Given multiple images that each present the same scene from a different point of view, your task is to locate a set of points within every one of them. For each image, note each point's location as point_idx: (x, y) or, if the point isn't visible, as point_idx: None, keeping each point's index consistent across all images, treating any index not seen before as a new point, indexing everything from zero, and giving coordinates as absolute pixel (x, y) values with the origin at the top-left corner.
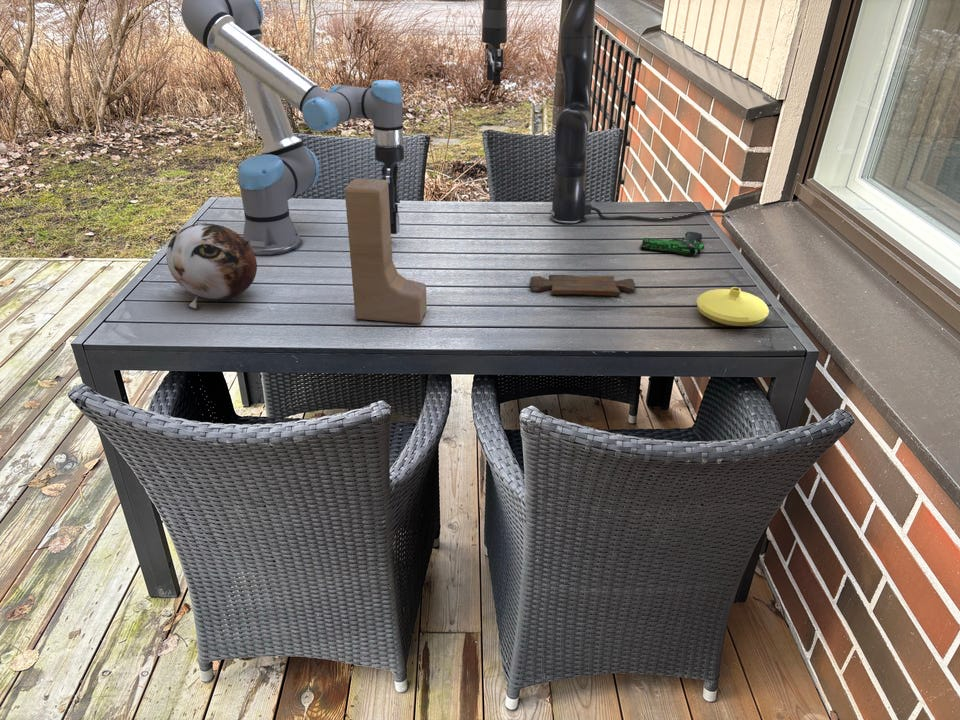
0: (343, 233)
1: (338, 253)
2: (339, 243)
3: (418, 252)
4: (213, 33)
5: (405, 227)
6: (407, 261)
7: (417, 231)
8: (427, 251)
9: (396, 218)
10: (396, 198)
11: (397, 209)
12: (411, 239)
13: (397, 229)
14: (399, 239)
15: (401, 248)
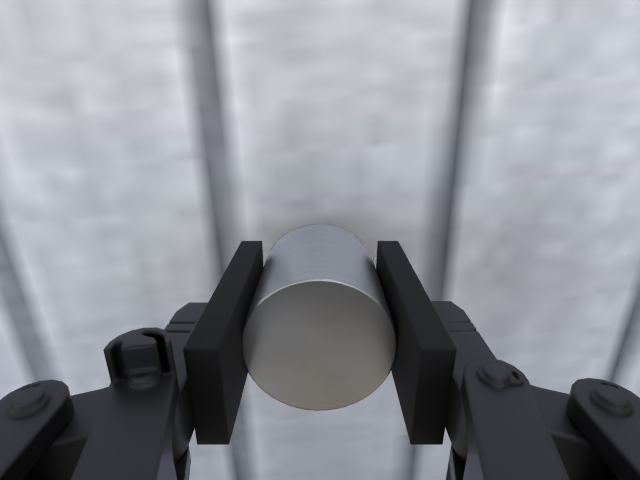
0: (195, 460)
1: (435, 449)
2: (318, 459)
3: (462, 69)
4: None
5: (34, 188)
6: (597, 132)
7: (85, 103)
8: (450, 2)
9: (375, 291)
10: (168, 418)
11: (231, 316)
12: (236, 134)
13: (358, 244)
14: (244, 208)
15: (388, 184)
